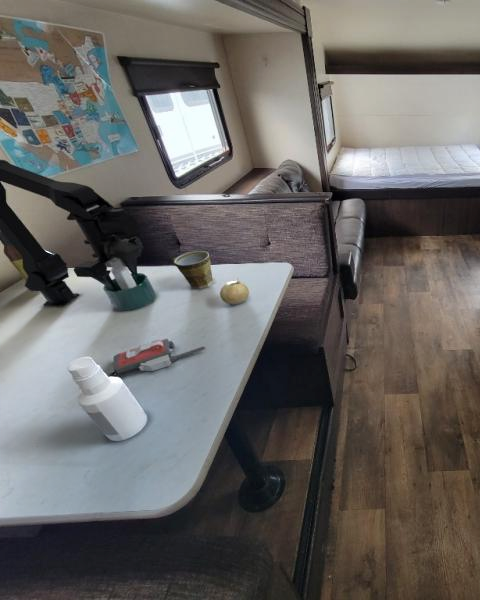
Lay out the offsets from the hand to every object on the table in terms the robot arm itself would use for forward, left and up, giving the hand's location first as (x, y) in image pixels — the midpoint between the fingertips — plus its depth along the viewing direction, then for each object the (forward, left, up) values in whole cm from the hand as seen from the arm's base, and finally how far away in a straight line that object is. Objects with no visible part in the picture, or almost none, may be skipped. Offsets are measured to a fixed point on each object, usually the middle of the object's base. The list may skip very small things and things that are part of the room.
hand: (125, 282), depth 102 cm
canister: (0, 0, -7) cm, 7 cm away
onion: (+32, +2, -7) cm, 33 cm away
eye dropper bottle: (0, 0, -4) cm, 4 cm away
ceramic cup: (+14, +11, -7) cm, 19 cm away
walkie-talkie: (+25, -24, -7) cm, 36 cm away
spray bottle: (+31, -43, -7) cm, 54 cm away
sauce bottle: (-40, +8, -7) cm, 41 cm away
